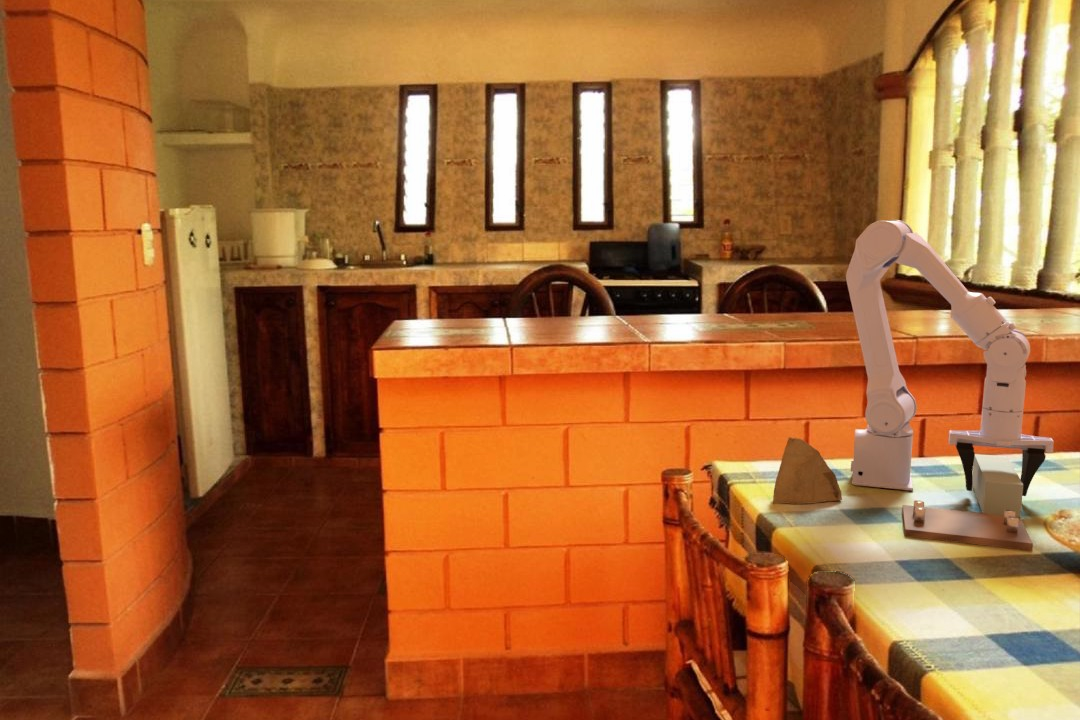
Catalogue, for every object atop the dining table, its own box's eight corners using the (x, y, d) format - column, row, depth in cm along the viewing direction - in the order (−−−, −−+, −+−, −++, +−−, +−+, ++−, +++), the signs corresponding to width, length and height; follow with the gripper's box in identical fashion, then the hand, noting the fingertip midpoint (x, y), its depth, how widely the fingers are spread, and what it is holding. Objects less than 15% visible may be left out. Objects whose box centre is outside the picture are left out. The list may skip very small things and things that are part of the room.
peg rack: (905, 535, 124) (906, 515, 123) (902, 511, 134) (903, 492, 133) (1032, 550, 118) (1034, 529, 118) (1019, 523, 128) (1021, 504, 128)
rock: (850, 480, 142) (790, 463, 147) (852, 448, 136) (789, 432, 141) (831, 533, 136) (768, 514, 141) (832, 503, 130) (767, 484, 135)
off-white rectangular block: (1020, 520, 131) (1023, 484, 130) (983, 516, 132) (986, 481, 131) (1004, 488, 145) (1007, 456, 144) (971, 485, 147) (974, 454, 146)
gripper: (954, 410, 135) (947, 494, 137) (1060, 417, 130) (1052, 504, 132) (950, 401, 142) (943, 481, 144) (1051, 407, 137) (1043, 490, 139)
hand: (995, 491), depth 139 cm, fingers open, 7 cm apart
